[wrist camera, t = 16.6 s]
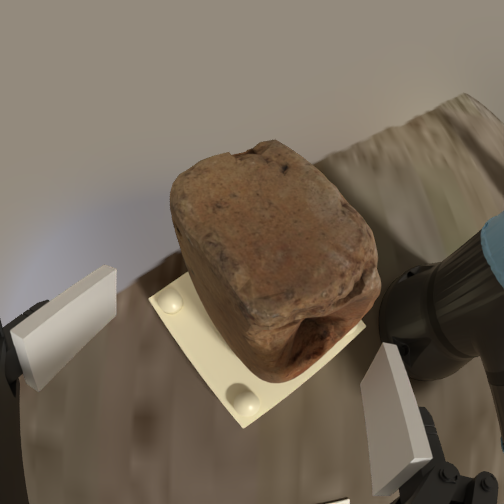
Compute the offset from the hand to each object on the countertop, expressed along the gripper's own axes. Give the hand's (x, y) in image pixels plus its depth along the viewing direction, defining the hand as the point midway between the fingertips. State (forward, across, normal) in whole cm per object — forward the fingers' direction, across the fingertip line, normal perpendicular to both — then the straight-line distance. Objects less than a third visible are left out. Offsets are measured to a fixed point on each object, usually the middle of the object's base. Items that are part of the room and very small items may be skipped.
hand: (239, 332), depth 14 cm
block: (+14, +1, -9) cm, 16 cm away
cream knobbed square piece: (+18, 0, -11) cm, 21 cm away
